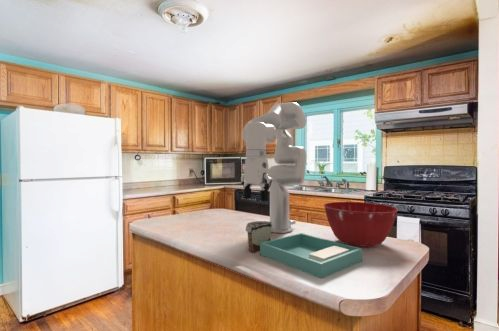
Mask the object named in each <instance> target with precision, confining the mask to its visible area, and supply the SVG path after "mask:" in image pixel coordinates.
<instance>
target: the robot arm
mask: <svg viewBox="0 0 499 331" xmlns="http://www.w3.org/2000/svg"><path fill="white" fill-rule="evenodd" d="M306 124H307V116H306V114H305V112H304V110H303V108H302V106H301V105H300V104H299V103H297V102H292V101H291V102H280V103H276V104H273V105H272V107H271V108H270V109H269V110H268V111H267V112H266V113H265V114H262V115H259V116H257V117H253V118H252V119H251V120H249V121H247V123H246V124H245V125H244V127H243V128H242V134H241V137H242V139H243V141H244V142H245V144H246V147H245V152H246V153H245V162H244V170H243V171H244V172H243V175H242V176H240V181H241V184H242V188H243V198H244V199H245V200H246V199H248V200H249V199H251V198H252V187H251V186H252V185H253V186H254V185H255V186H259V188H260V189H261V190H260V198H259V199H260V201H261V202H268V201H269V222H272V226H273V227H271V233H275V234H287V233H292V232H293V230H294V229H293V227H292V225H295V224H296V223H297V222H296V220H295V219H294V220H293V219H292V220H290V192H289V191H288V189H287V187H286V186H301V185H302V184H303V183H304V181H305V175H306V165H307V150H306V149H305V148H304V146H299V145H296V146H295V145H294V138H293V136H292V135H291V134H290V133H289V132H288V131H287V130H301V129H304V128H305V127H306ZM274 142H276V143H275V144H276V145H275V150H274V157H273V158H274V162H275V164H276V165H275V164H274V165H273V166H271V167H269V161H268V158H267V150H266V149H267V144H271V143H274Z"/></svg>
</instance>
